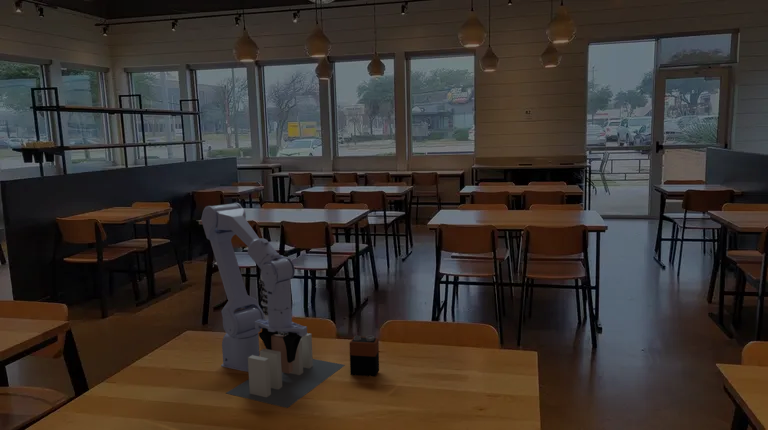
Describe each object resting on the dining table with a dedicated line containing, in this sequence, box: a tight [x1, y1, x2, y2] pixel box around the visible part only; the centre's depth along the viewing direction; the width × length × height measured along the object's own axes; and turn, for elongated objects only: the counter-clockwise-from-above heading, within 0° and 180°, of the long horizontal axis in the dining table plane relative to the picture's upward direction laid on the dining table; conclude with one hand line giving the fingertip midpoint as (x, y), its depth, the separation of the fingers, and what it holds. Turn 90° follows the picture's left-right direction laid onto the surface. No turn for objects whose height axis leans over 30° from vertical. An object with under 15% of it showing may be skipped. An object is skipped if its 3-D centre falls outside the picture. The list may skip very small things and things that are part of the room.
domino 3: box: [271, 334, 293, 374], centre depth 141 cm, size 2×5×9 cm, turn 64°
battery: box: [349, 335, 380, 378], centre depth 144 cm, size 4×7×10 cm, turn 79°
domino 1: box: [248, 355, 271, 397], centre depth 133 cm, size 2×5×9 cm, turn 64°
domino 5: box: [301, 332, 314, 368], centre depth 149 cm, size 2×5×9 cm, turn 64°
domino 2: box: [259, 348, 282, 389], centre depth 137 cm, size 2×5×9 cm, turn 64°
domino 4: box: [291, 339, 303, 375], centre depth 145 cm, size 2×5×9 cm, turn 64°
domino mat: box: [225, 358, 346, 409], centre depth 142 cm, size 18×26×1 cm
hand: (282, 359), depth 141 cm, fingers closed on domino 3, 5 cm apart
